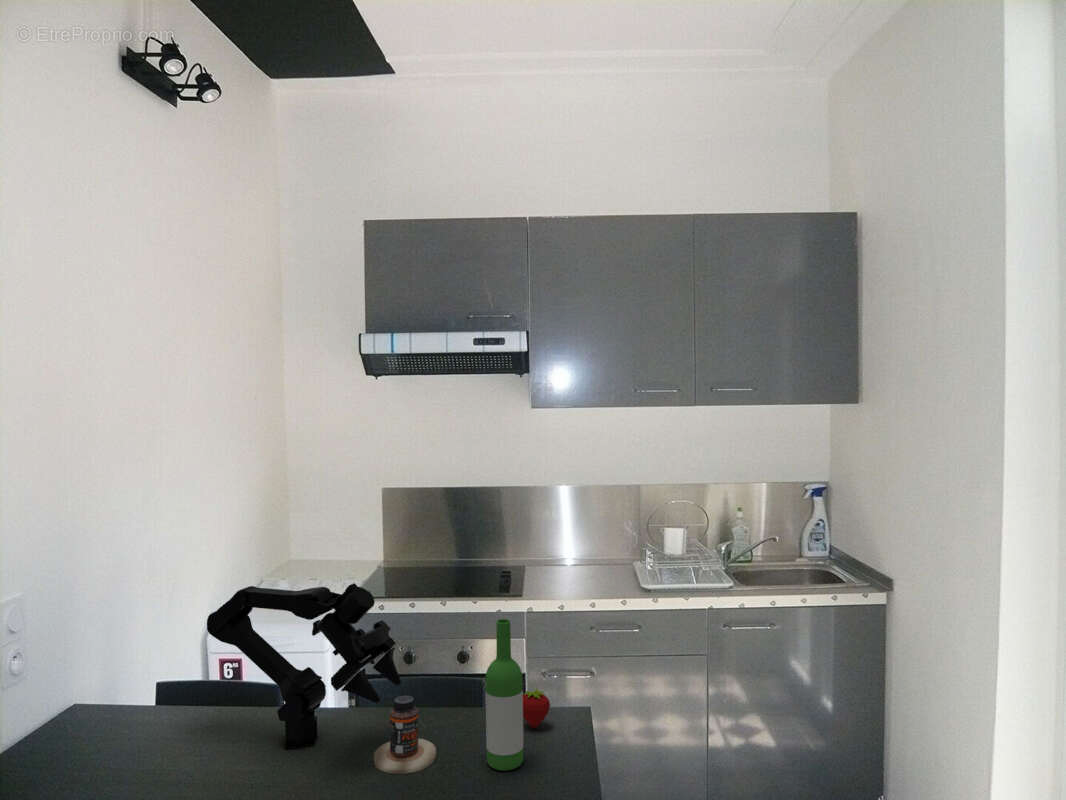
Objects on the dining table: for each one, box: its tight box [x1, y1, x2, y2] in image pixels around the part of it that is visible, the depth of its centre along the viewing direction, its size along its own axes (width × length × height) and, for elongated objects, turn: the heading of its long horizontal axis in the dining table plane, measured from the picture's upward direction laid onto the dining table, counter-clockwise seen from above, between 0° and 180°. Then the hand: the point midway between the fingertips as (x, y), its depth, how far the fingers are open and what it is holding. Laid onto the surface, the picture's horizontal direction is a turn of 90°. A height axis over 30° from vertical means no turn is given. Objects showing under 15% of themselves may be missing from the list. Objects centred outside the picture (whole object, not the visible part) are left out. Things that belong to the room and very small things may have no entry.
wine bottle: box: [485, 618, 524, 772], centre depth 154 cm, size 8×8×30 cm
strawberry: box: [523, 684, 551, 729], centre depth 170 cm, size 6×8×10 cm
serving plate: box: [373, 737, 437, 775], centre depth 157 cm, size 13×13×1 cm
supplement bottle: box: [389, 695, 419, 757], centre depth 157 cm, size 6×6×11 cm
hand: (389, 692), depth 158 cm, fingers open, 9 cm apart
